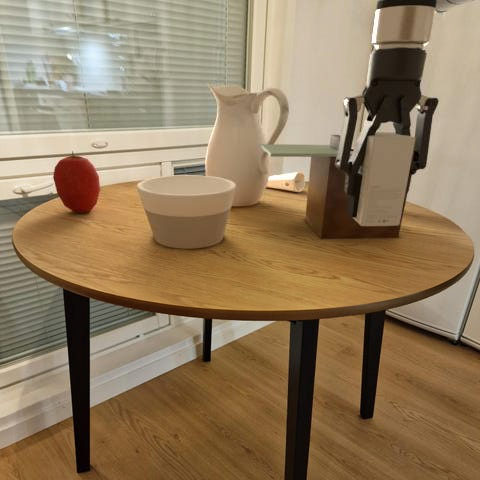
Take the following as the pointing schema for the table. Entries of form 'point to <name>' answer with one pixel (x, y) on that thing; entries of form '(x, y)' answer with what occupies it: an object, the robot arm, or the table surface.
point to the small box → (384, 178)
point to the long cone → (287, 182)
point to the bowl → (187, 209)
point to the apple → (77, 183)
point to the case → (336, 205)
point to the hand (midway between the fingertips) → (372, 214)
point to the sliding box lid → (304, 149)
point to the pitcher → (242, 141)
